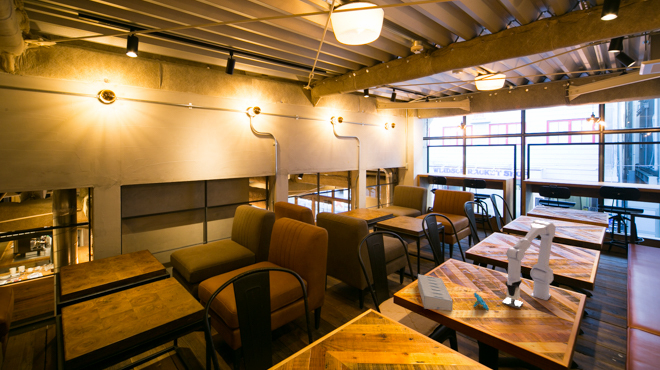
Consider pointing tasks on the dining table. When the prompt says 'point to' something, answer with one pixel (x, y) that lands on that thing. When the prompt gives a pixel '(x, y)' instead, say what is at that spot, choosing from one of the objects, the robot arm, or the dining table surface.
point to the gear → (480, 301)
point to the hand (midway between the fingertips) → (513, 293)
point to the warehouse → (434, 293)
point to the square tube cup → (516, 295)
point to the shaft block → (512, 302)
